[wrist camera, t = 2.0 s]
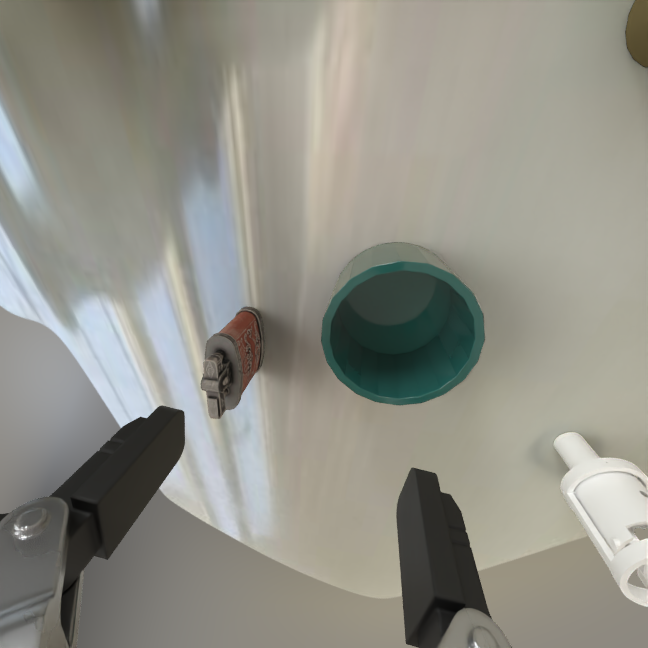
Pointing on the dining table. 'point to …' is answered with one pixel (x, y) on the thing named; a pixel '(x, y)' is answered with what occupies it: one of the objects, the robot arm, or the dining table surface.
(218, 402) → the lighter
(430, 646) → the robot arm
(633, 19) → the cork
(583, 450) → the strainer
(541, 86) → the dining table surface
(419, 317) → the ceramic cup
